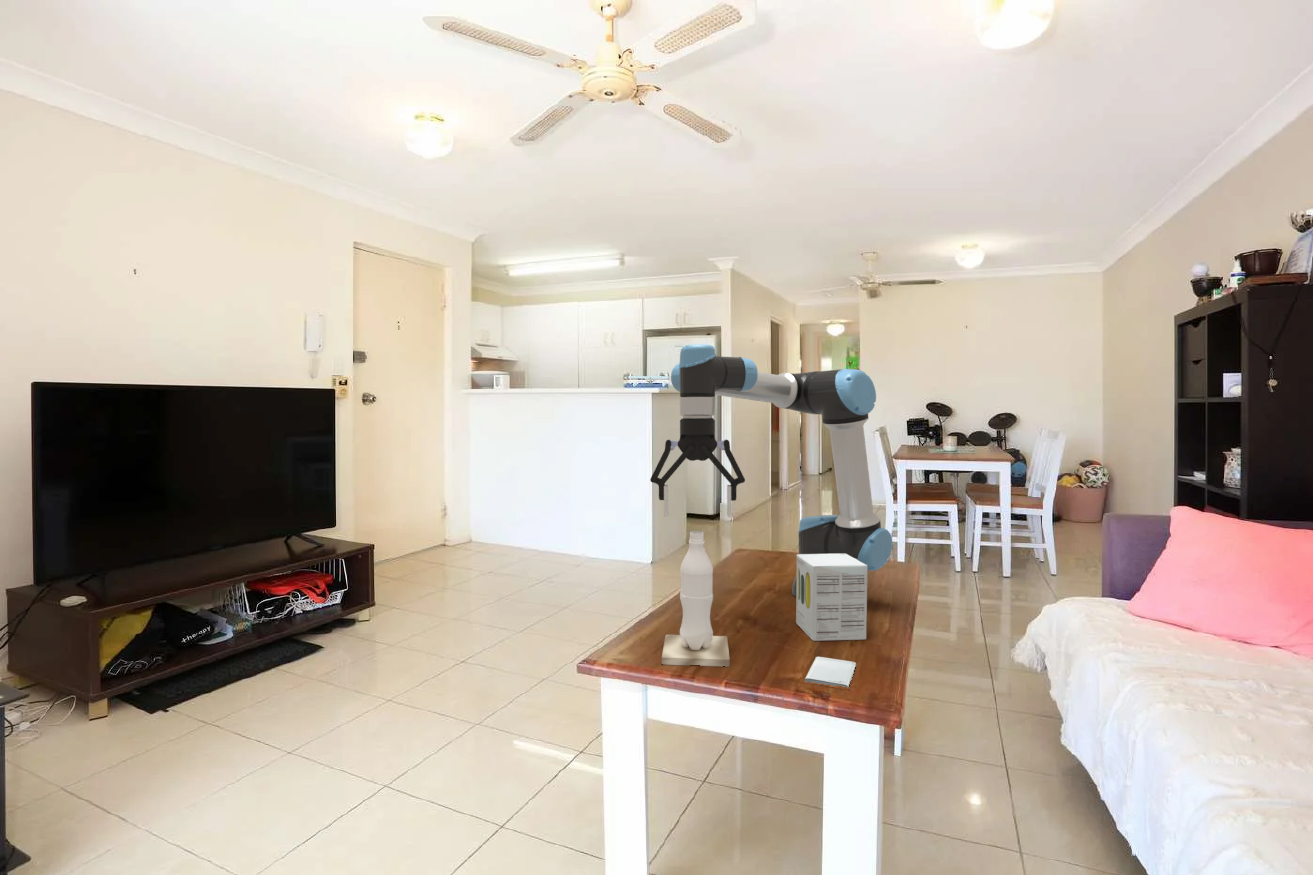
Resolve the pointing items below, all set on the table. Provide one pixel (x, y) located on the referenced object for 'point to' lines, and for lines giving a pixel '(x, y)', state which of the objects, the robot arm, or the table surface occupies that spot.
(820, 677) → the white spiral notebook
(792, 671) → the table surface
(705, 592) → the water bottle
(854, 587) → the supplement box
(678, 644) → the flat beige metallic box
